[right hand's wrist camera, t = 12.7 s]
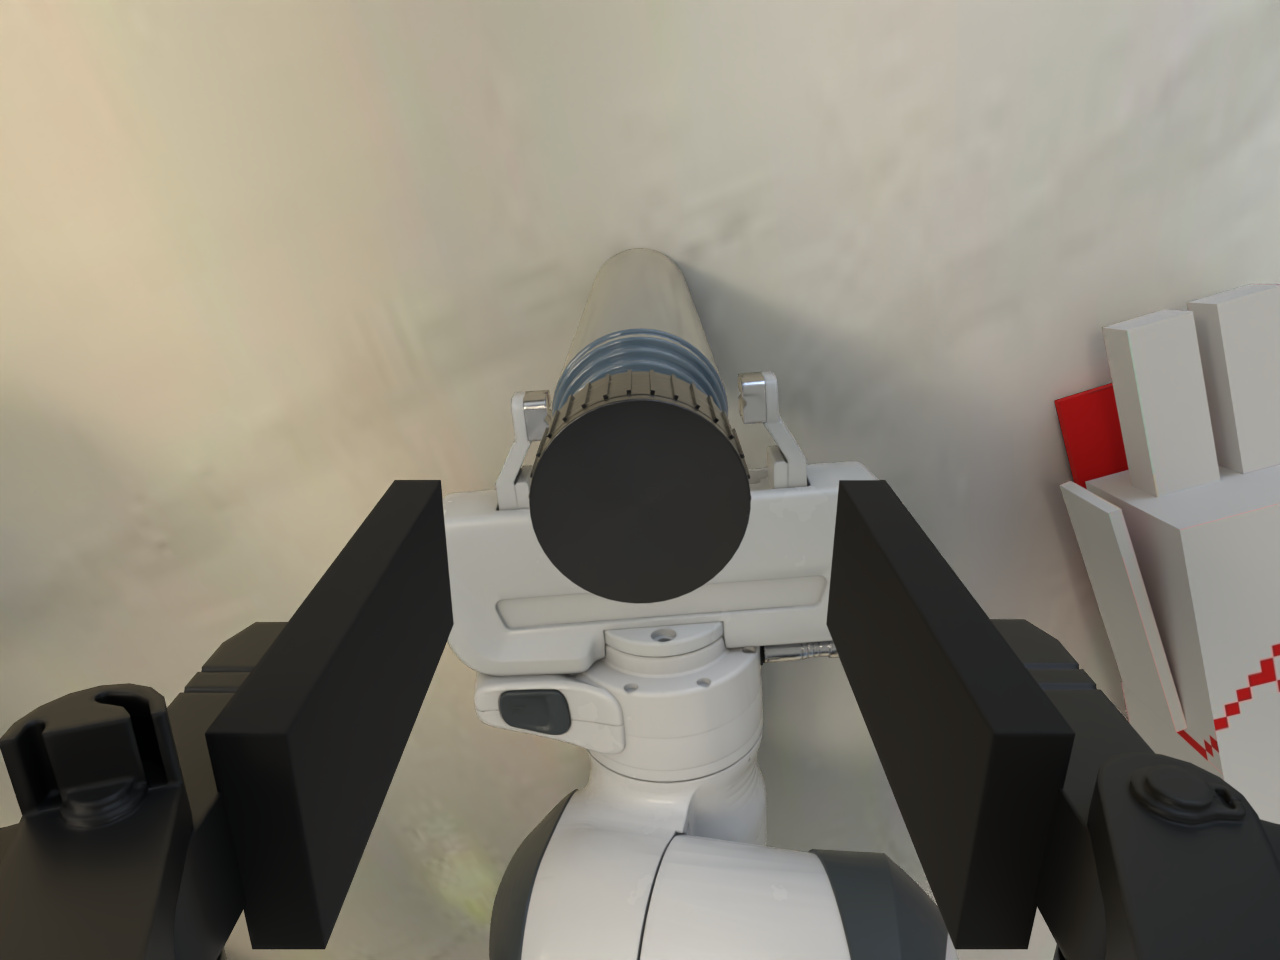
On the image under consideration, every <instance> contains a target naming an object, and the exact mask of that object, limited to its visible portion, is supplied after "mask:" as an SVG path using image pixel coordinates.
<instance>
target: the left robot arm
mask: <svg viewBox="0 0 1280 960" xmlns="http://www.w3.org/2000/svg"><path fill="white" fill-rule="evenodd" d="M738 388H739V391H740V392H741V394H740V395H739V397H738V400H739V413H740V415H741V416H742V421H743V423H744V424H747V423H763V424H764V425H765V427H766V428H767V430H768V431H769V433H770V434H771V436H772V437H773V439H774V441H775V442H776V444H777V445H778V446H769V447H768V448H767V468H758V469H748V471H749V474H750V479H748V480H749V485H750V493H751V510H750V516H749V522H748V526H747V529H746V532H745V535H744V538H743V540H742V542H741V544H740V546H739V548H738V550H737V551H736V553H735V554H734V556H733V557H732V559H731V560H730V561H729V563H728V564H727V565H726V566H725V567H724V568H723V569H722V570H721V571H720V572H719V573H718V574H717V575H716V576H715V577H714V578H713V579H711V580H710V581H708V582H707V583H706V584H704V585H703V586H701V587H699V588H698V589H696V590H694V591H692V592H690V593H688V594H685V595H683V596H680V597H678V598H674V599H670V600H667V601H662V602H655V603H640V604H635V603H624V602H618V601H614V600H609V599H606V598H603V597H600V596H597V595H595V594H592V593H590V592H588V591H586V590H584V589H582V588H581V587H579V586H577V585H576V584H574V583H573V582H571V581H570V580H569V579H568V578H566V577H565V576H564V575H563V574H562V573H561V572H560V571H559V570H558V569H557V568H556V567H555V566H554V565H553V564H552V563H551V561H550V560H549V559H548V557H547V556H546V554H545V553H544V551H543V550H542V548H541V546H540V544H539V542H538V540H537V537H536V535H535V532H534V529H533V526H532V521H531V517H530V507H529V493H530V486H531V481H532V478H531V477H530V474H531V471H532V468H533V467H532V466H531V465H530V466H523V467H522V468H521V465H522V463H523V460H524V458H525V456H526V453H527V451H528V449H529V447H530V444H531V442H532V441H540V440H542V437H543V434H544V431H545V429H546V427H547V428H549V427H550V425H551V422H552V411H551V410H550V409H549V407H550V405H551V396H550V391H549V390H541V391H523V392H515V393H514V395H513V397H512V400H511V411H512V418H513V425H514V432H515V440H514V442H513V444H512V447H511V449H510V451H509V454H508V456H507V458H506V461H505V463H504V465H503V468H502V470H501V472H500V475H499V477H498V479H497V482H496V489H494V490H481V491H468V492H456V493H450V494H448V495H446V496H445V497H444V498H443V499H442V500H443V511H444V522H445V533H446V544H447V555H448V567H449V578H450V589H451V600H452V611H453V622H454V625H453V627H452V630H451V632H450V635H449V637H448V640H447V641H448V643H449V645H450V647H451V648H452V650H453V652H454V653H455V654H456V656H457V657H458V658H459V659H460V660H461V661H462V662H463V663H464V664H465V665H467V666H468V667H470V668H471V669H473V670H475V671H477V675H476V681H475V692H474V704H475V710H476V713H477V716H478V717H479V719H480V720H481V721H482V722H483V723H485V724H487V725H489V726H492V727H496V728H501V729H506V730H511V731H517V732H522V733H527V734H532V735H537V736H541V737H546V738H550V739H554V740H558V741H562V742H566V743H570V744H573V745H577V746H580V747H583V748H586V750H587V752H588V754H589V758H590V764H591V771H590V776H589V780H588V783H587V785H586V786H585V788H584V789H582V790H578V789H576V790H574V791H573V792H571V793H570V794H569V795H567V796H566V797H565V798H564V799H563V800H562V801H560V802H559V803H558V805H557V806H556V807H555V808H554V809H553V810H552V811H551V812H550V813H549V814H548V815H547V816H546V817H545V818H544V819H543V820H542V821H541V823H540V824H539V825H538V826H537V827H536V828H535V829H534V830H533V831H532V832H531V833H530V834H529V835H528V836H527V838H526V839H525V840H524V841H523V842H522V844H521V845H520V847H519V848H518V849H517V851H516V852H515V854H514V856H513V857H512V859H511V861H510V863H509V865H508V867H507V869H506V871H505V874H504V876H503V878H502V881H501V883H500V886H499V888H498V891H497V894H496V898H495V901H494V906H493V911H492V917H491V925H490V940H489V960H959V957H958V953H957V949H955V948H954V945H953V943H952V940H951V938H950V935H949V933H948V930H947V928H946V925H945V923H944V920H943V918H942V915H941V913H940V910H939V908H938V906H937V905H936V904H935V903H934V901H933V900H932V899H931V898H930V897H929V896H928V895H927V894H926V893H925V891H924V890H923V889H922V888H921V887H920V886H919V885H918V884H917V883H916V882H915V881H914V880H913V879H912V878H911V877H910V876H909V875H908V874H907V873H906V872H905V871H904V870H903V869H902V868H900V867H899V866H898V865H897V864H896V863H895V862H894V861H892V860H891V859H890V858H889V857H888V856H887V855H885V854H884V853H871V852H853V851H835V850H817V849H812V850H810V851H809V852H803V851H796V850H789V849H782V848H775V847H768V846H766V834H767V808H766V790H765V784H764V780H763V776H762V773H761V771H760V769H759V766H758V764H757V752H758V749H759V747H760V743H761V740H762V734H763V703H762V679H761V665H763V663H772V662H785V661H796V660H801V659H807V658H812V657H818V656H819V657H824V656H828V657H829V658H839V655H838V653H837V650H836V647H835V645H834V642H833V640H832V637H831V635H830V632H829V630H828V627H827V625H826V622H827V611H828V600H829V589H830V578H831V567H832V555H833V544H834V533H835V522H836V511H837V500H838V489H839V480H878V479H877V477H876V476H875V475H874V474H873V473H872V472H871V471H870V470H868V469H867V468H866V467H865V466H864V465H863V464H861V463H860V462H857V461H845V462H833V463H820V464H808V465H807V459H806V457H805V456H804V454H803V452H802V450H801V448H800V446H799V445H798V443H797V441H796V440H795V438H794V437H793V435H792V434H791V432H790V431H789V429H788V428H787V426H786V425H785V423H784V422H783V420H782V419H781V417H780V415H779V407H778V384H777V379H776V376H775V374H774V373H773V371H766V372H755V373H744V374H738Z"/></svg>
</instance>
